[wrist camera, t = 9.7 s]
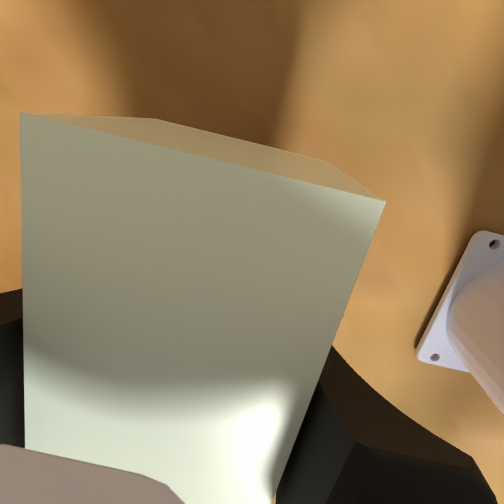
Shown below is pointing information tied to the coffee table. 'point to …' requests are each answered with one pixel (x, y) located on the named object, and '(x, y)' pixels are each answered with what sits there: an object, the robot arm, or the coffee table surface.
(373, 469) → the robot arm
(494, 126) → the coffee table surface
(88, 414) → the pale green block
